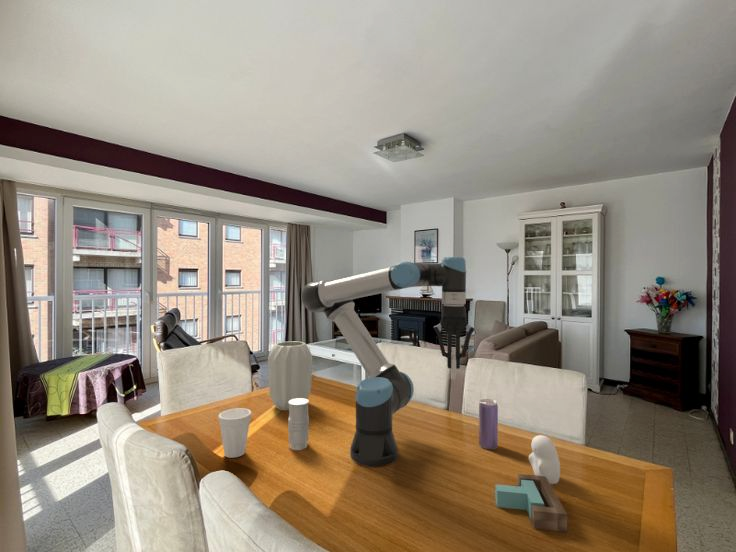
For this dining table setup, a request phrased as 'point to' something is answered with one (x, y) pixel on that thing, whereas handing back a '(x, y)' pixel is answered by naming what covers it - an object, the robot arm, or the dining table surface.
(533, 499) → the t block
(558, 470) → the figurine
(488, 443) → the beverage can
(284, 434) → the dining table surface
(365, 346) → the robot arm
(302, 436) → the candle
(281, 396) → the vase
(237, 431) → the cup
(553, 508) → the bracket
